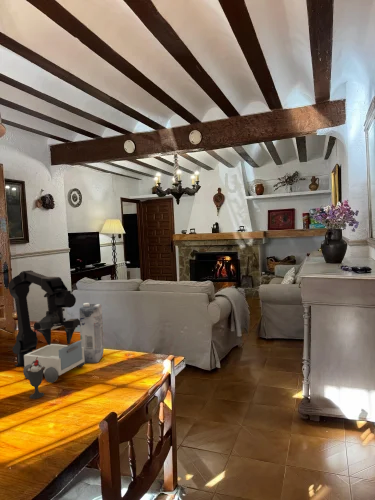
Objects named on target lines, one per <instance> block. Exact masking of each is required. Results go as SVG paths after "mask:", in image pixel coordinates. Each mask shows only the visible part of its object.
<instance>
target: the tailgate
mask: <svg viewBox="0 0 375 500" xmlns="http://www.w3.org/2000/svg"><path fill="white" fill-rule="evenodd" d="M67 345H68V346H66V347H64V348H62V349H60V350H59V358H61V370H62V369H64V368H66V367H68V366H70V365H72V364H74V363H76V362H78V361H79V360H81V359H82V346H81V340H77V341H76V342H73V343H71V344H67Z"/></svg>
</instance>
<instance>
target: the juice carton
mask: <svg viewBox="0 0 375 500" xmlns="http://www.w3.org/2000/svg"><path fill="white" fill-rule="evenodd" d="M82 305H83V306H82V307H80V308H79V320H80V325H79V335H80V338H79V339H80V341H81V346H82V347H84V357H85V364H98V363H99V362H100V360H101V359H102V358H103V355H104V326H103V309H102V303H90V302H84V303H83V304H82Z"/></svg>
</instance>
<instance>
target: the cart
mask: <svg viewBox="0 0 375 500" xmlns="http://www.w3.org/2000/svg"><path fill="white" fill-rule="evenodd" d="M68 345H69V344H58V343H51V344H50V345H48V344H47V345H45V346H41V347H40V348H38V349H37V348H36V349H35V350H32V351H33V352H30V353H28V354H25V355H24V367H23V376H24V377H25V378H26V379H27V380H29V375H28V373H27V372H26V369H27V368H29V367H30V366H31V364H32V363H33V361H35V360H36V359H37V360H38V361H39V362H40V363H41V365H43V366H44V367H45V369H44V370H43V376H44V379H45V380H46V382H48V383H49V384H53V383H55V382H57V381H58V379H59V376H61V375H63V374H65V373H67V372H68V371H70V370H72V369H73V368H81V367H83V366H85V364H86V363H85V357H84V347H82V359H81V360H79V361H78V362H76V363H74V364H72V365H70V366H68V367H66V368H64V369H62V370H61V358H59V350H60V349H62V348H64V347H66V346H68ZM37 357H38V358H37Z"/></svg>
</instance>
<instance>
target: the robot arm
mask: <svg viewBox="0 0 375 500" xmlns="http://www.w3.org/2000/svg"><path fill="white" fill-rule="evenodd" d="M32 284H35V285H37V286H39V287H40V289H41V290H43V291H44V292H45V294H44V295H43V297H44V298H46V303H47V311H46V312H45V313H46V314H45V316H44V317H43V318H41V319H40V321H36V322H35V323H34V325H33V329H32V326H31V319H30V311H29V305H28V298H27V297H28V295H29V293H30V287H31V285H32ZM7 287H8V288H7V289H8V291H9V293H10V296H12V298H13V299H14V302H15V303H14V304H15V310H16V316H17V325H18V333H17V335H16V336H15V339H16V340H15V343H14V344H13V345H14V346H13V347H12V352H13V354H15V355H16V358H17V363H15V364H14V366H15V367H20V368H24V355H25V354H28V353H30V352H33V351H35V350H37V345H38V337H37V332H39V333H40V334H42V336H43V338H44V339H45V341H46V343H47V345H50V344H52V328H53V327H64V329H63V330H64V332H65V335H66V337H65V338H66V343H67V344H66V345H71V344H70V343H71V341H72V337H73V335H74V333H75V330H76V328H78V327H79V326H80V318H70V319H67V320H66V317H64V312H65V309H66V308H67V309H68V308H72V307H74V306H75V304H76V302H77V299H76V296H75V294H73V293H72V290H69V289H68V287H67V286H66V284H65V283H64V281H63V280H62V278H61V277H60V276H46V275H43V274H40V273H38V272H35V271H34V270H32V269H31V270H22V271H21V272H20V273H19V274H18V275H16V276H14V277H12V279H10V281H9V283H8V285H7ZM34 330H36V331H34Z"/></svg>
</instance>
